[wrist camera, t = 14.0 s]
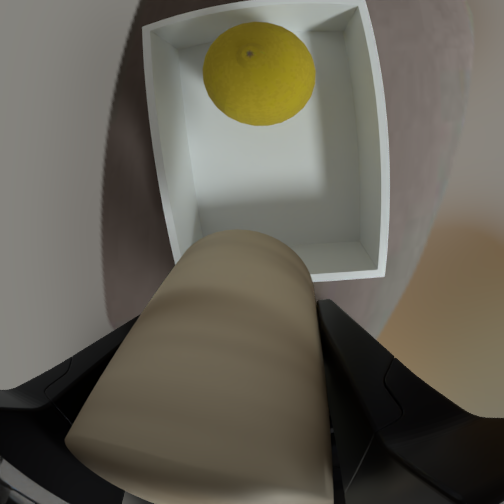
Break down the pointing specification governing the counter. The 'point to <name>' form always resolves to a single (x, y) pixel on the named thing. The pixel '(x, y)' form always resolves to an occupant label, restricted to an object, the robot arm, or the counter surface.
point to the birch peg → (217, 385)
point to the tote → (276, 140)
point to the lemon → (259, 73)
